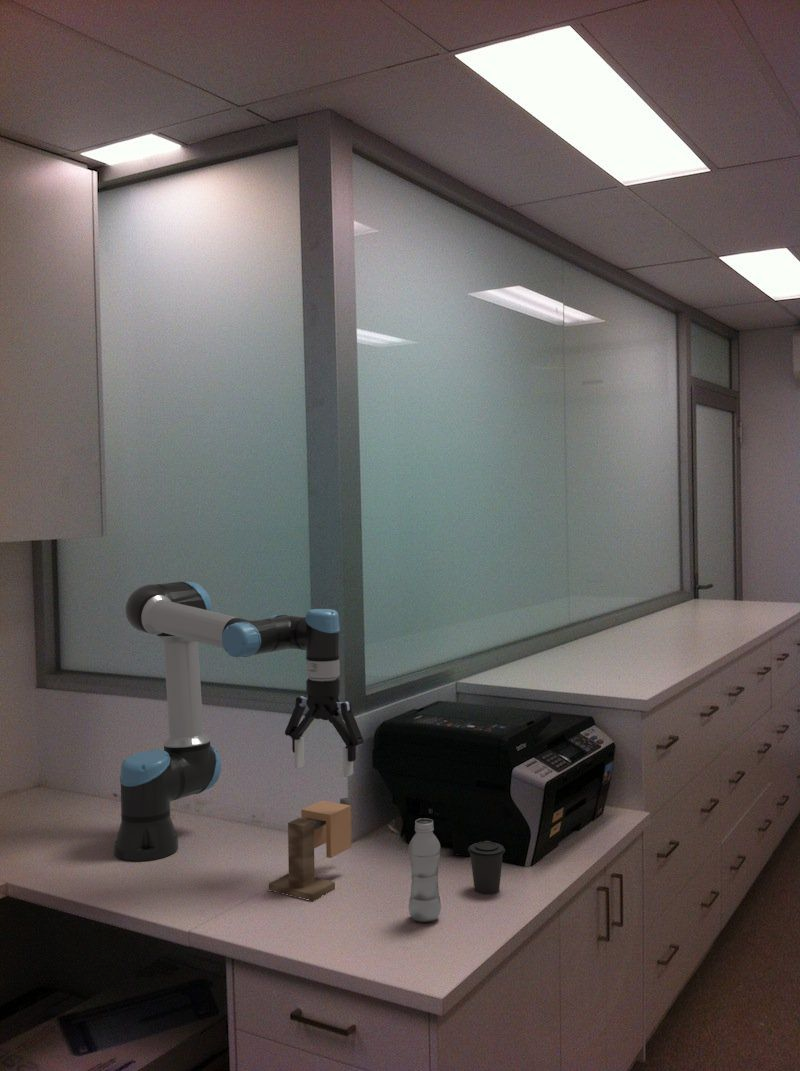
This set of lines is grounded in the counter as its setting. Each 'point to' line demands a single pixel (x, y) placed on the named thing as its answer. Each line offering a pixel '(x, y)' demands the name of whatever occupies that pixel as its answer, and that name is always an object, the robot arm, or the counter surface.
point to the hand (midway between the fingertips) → (323, 771)
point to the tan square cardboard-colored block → (331, 826)
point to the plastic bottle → (424, 873)
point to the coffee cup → (486, 866)
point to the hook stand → (303, 862)
